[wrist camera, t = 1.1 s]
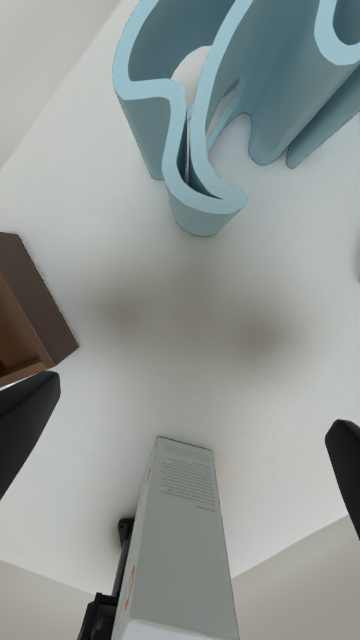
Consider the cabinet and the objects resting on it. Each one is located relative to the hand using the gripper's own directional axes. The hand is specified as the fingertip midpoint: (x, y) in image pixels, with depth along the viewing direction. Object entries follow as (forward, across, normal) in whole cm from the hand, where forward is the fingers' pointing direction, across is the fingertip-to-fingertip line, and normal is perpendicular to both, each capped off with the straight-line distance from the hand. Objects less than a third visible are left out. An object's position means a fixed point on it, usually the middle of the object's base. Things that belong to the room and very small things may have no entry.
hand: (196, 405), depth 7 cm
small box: (+10, -2, +20) cm, 23 cm away
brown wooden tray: (+13, +16, +5) cm, 22 cm away
